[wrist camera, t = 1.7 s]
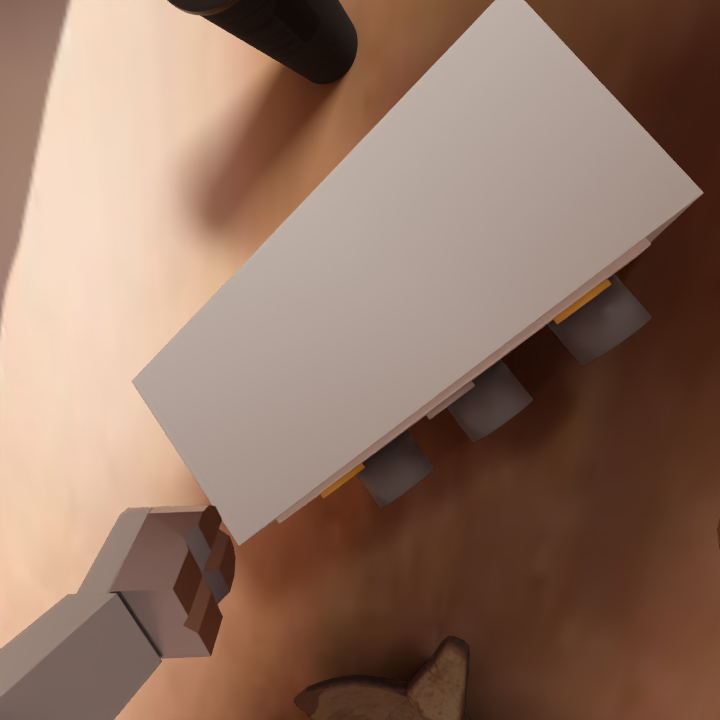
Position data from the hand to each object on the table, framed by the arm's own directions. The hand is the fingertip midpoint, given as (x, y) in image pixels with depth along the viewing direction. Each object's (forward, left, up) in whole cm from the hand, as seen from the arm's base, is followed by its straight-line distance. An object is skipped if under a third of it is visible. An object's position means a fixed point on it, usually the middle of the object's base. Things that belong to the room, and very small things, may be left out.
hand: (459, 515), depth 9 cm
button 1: (-1, -3, -23) cm, 24 cm away
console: (+8, -1, -29) cm, 30 cm away
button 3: (+6, +8, -23) cm, 26 cm away
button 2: (+2, +3, -23) cm, 24 cm away
